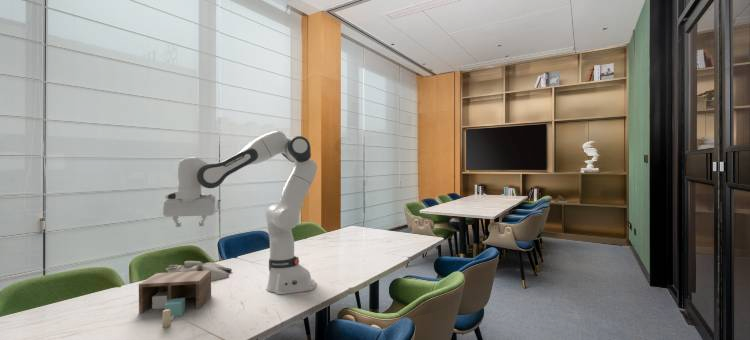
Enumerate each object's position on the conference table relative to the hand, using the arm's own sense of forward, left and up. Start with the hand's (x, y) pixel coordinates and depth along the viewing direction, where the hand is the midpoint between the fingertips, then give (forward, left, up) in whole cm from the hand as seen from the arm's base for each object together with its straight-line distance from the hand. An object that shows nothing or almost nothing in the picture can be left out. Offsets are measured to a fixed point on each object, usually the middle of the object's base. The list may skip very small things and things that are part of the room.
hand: (190, 226), depth 144 cm
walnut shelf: (+3, +6, -31) cm, 32 cm away
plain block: (+8, +7, -31) cm, 33 cm away
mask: (+7, -30, -32) cm, 44 cm away
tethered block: (-1, +21, -31) cm, 38 cm away
